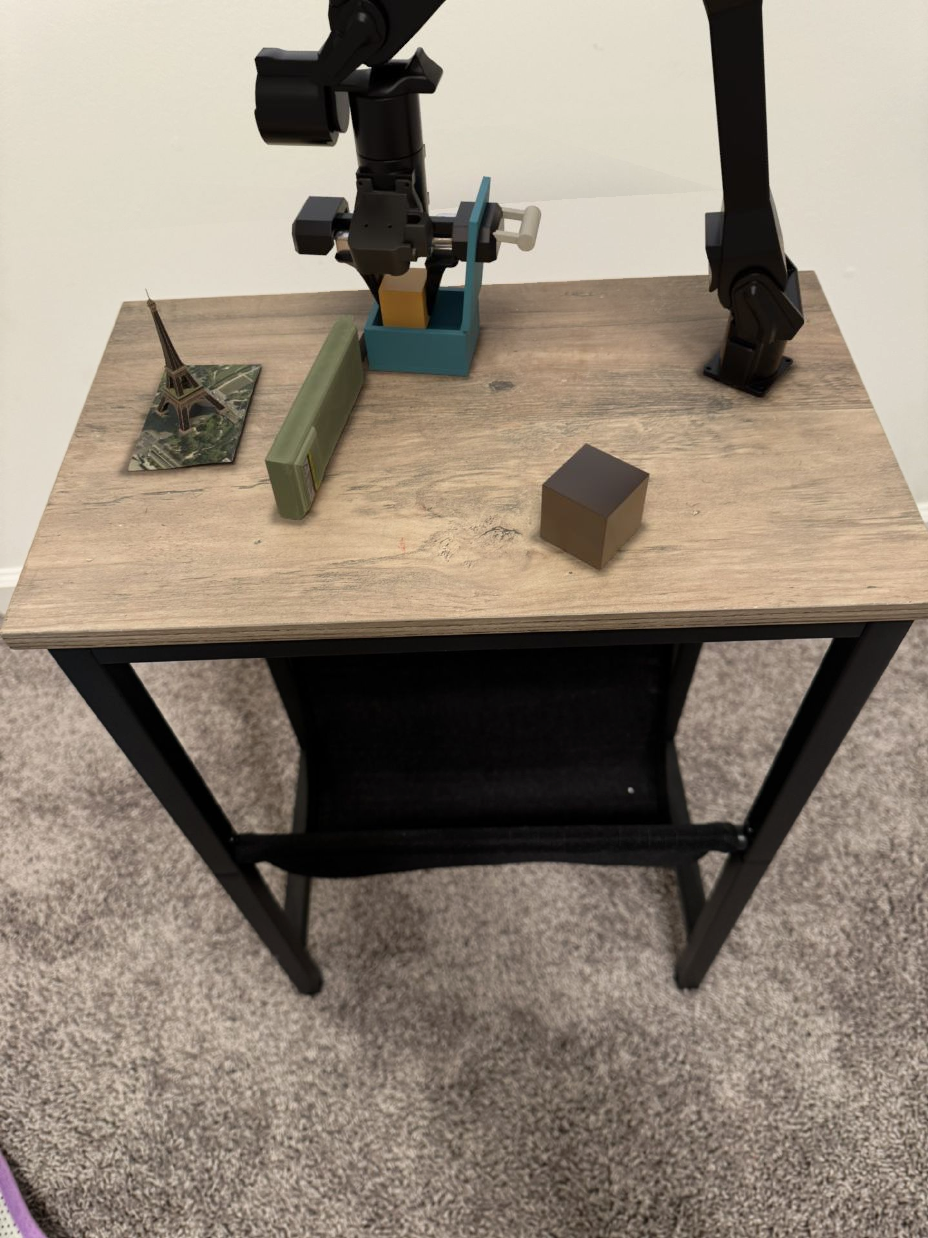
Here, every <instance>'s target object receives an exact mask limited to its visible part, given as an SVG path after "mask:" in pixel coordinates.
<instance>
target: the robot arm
mask: <svg viewBox="0 0 928 1238" xmlns="http://www.w3.org/2000/svg"><path fill="white" fill-rule="evenodd" d="M446 1H447V0H328V7H327V8H328V9H327V20H328V26H329V31H330V32H329V34H328V36H327V38H326V40H325V41H324V42H323V44H322V46H321V47H320V48H319V50H287V49H282V48H279V47H262V48H261V50H259V52H258V53H257V54H256V56H255V57H254V58H253V60H254V64H255V65H254V66H255V69H256V77H255V84H254V85H255V86H254V103H255V108H254V111H253V114H254V120H255V124H256V127H257V130H258V133H259V135H260V138H261V139H262V141H263V142H264V143H265V144H266V145H267V146H268V145H269V146H288V147H289V146H291V147H320V148H321V147H324V148H327V147H328V148H333V147H335V146H336V145H337V143H338V140H339V137H340V134H346V133H347V132H348V130H349V126H350V119H351V123H352V124H351V125H352V133H353V139H354V146H355V153H356V155H355V156H356V160H357V169H356V171H355V179H356V181H355V186H356V195H355V200H354V206H353V212H350V206H349V202H348V200H347V199H346V198H345V197H344V196H319V195H318V196H317V195H309V196H308V197H307V198H306V200H305V201H304V202H303V204H302V206H301V208H300V209H299V212H298V213H297V215H296V217H295V218H294V220H293V222H292V224H291V237H292V242H293V247H294V252H296V253H297V254H298V255H301V256H302V255H304V256H305V255H306V256H323V257H324V256H325V257H326V256H327V255H329V253H330V252H331V251H332V250H333V249H334V248H336V252H335V255H334V259H335V261H336V262H337V263H339V264H346V265H348V266H350V267H352V268H354V269H355V270H356V272H358V274H359V275H360V276H361V279H363V281H364V283H365V285H366V286H367V288H368V290H369V291H370V293H371V295H372V297H373V299H374V301H375V300H376V302H377V304H378V305H379V307H380V309H381V305H380V298H379V291H378V290H379V288H380V285H381V283H382V280H383V278H384V275H385V274H390V275H391V276H401V275H404V274H405V273H407V271H408V270H409V268H411V263H412V262H413V263H417V262H418V260H419V258H425V261H424V268H426V270H427V285H426V306H427V313H428V316H432V314H433V311H434V307H435V303H436V299H437V295H438V291H439V288H440V287H441V284H442V279H443V277H444V276H443V275H444V273H445V271H446V269H454V268H455V267H457V266H458V265H459V262H461V263H466V260H467V245H468V230H469V220H470V217H471V214H472V211H473V207H474V204H475V201H464V200H463V201H462V200H461V201H460V203H459V206H458V208H457V212H456V213H443V212H442V213H438V214H437V215H430V209H429V206H430V201H431V200H430V192H429V191H428V184H427V171H426V157H427V153H426V152H427V151H426V144H425V143H424V135H423V123H422V111H421V98H420V95H433V94H435V93H436V91H437V89H438V86H439V84H440V82H441V81H442V78H443V76H444V69H443V68H442V67H441V66H440V65H439V64H438V63H437V62H436V61H435V60H433V59H432V58H430V57H429V56H428V54H427V53H426V52H425V49H424V48H423V47H421V46H419V47H417V48H416V50H415V51H414V53H413V55H412V56H411V57H410V58H407V59H403V58H402V59H401V58H398V59H397V58H394V57H395V56H396V55H397V54H398V53H399V52H400V51H401V50H402V49H403V48H404V47H405V46H406V45H407V44H408V43H409V42H410V41H411V40H412V39H413V38H414V37H415V36H416V35H417V34H418V33H419V32H420V30H422V28H423V27H424V26H425V25H426V24H427V22H428V21H429V20H430V19H431V18H432V16H434V14H435V13H436V12H437V11H438V10H439V9H440V7H442V6H443V4H444V3H445V2H446ZM763 2H764V0H702V3H703V6H704V11H705V13H706V17H707V22H708V29H709V41H710V53H711V65H712V66H711V67H712V76H713V78H712V79H713V88H714V89H713V90H714V91H713V92H714V101H715V103H714V104H715V113H716V115H715V116H716V126H717V127H716V128H717V139H718V149H719V150H718V151H719V161H720V162H719V163H720V172H721V173H720V174H721V187H722V200H721V206H720V211H711V212H708V211H707V212H705V213H704V250H705V254H706V257H707V262H708V264H707V266H708V267H707V268H708V292H709V293H710V294H711V293H713V292H715V291H716V290H717V291H716V292H717V293H716V295H717V298H718V301H719V304H720V305H721V306H722V308H723V309H725V310H728V311H729V314H728V317H727V322H726V327H725V331H724V335H723V339H722V344H721V346H720V347H721V348H720V351H718V352H717V353H716V354H715V355H714V356H713V358H712V359H710V360H709V361H708V362H707V364H705V365H704V367H703V368H702V373H703V374H704V375H705V376H708V377H710V378H712V379H715V380H717V381H720V382H722V383H724V384H727V385H730V386H732V387H735V388H737V389H739V390H742V391H744V392H746V393H750V394H752V395H754V396H757V397H764V396H766V394H767V393H768V392H769V391H770V390H771V389H772V388H773V387H774V386H775V385H776V384H777V383H778V382H779V380H780V379H781V378H782V377H784V375H785V374H786V373H787V372H788V371H789V370H790V369H791V368H792V366H793V364H794V359H792V358H790V357H789V356H786V355H784V353H785V350H786V348H787V344H788V342H790V341H792V340H793V339H794V338H795V336H796V335H797V333H799V331H800V330H801V329H802V328H803V326H804V325H805V316H804V307H803V299H802V291H801V285H800V276H799V270H798V267H797V266H796V264H795V263H794V262H793V261H792V260H791V258H790V257H789V256H788V254H787V253H786V251H785V244H784V243H785V242H784V235H783V230H782V226H781V223H780V218H779V215H778V210H777V206H776V202H775V199H774V196H773V193H772V188H771V185H770V164H769V140H768V139H769V138H768V117H767V116H768V115H767V113H768V112H767V93H766V92H767V91H766V89H767V88H766V69H765V67H766V66H765V65H766V64H765V41H764V40H765V39H764V16H763V15H764V14H763V4H764V3H763ZM362 65H364V66H366V67H367V68H361V69H358V68H360V67H361V66H362ZM501 207H502V206H501V205H500V204H499V202H492V201H489V202H487V203H486V206H485V210H484V213H483V216H482V220H481V223H480V226H479V232H478V239H477V248H476V261H475V262H479V263H484V264H490V263H493V262H495V261H497V259H498V256H499V252H500V250H501V246H502V242H498V241H497V239H496V238H495V236H494V235H493V233H494V232H496V230H500V231H505V218H503V211H502V208H501ZM334 246H335V247H334Z"/></svg>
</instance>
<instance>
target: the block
mask: <svg viewBox="0 0 928 1238" xmlns="http://www.w3.org/2000/svg"><path fill="white" fill-rule="evenodd" d="M426 285H427V270H426V268H425V267H410V268H409V270H408V271H407V273H405V274H404V275H401V276H391V275H390V274H385V275H384V278H383V280H382V283H381V285H380V288H379V290H378V291H379V298H380V305H381V313H382V320H383V326H388V327H405V328H423V329H426V328H427V325H428V322H429V319H430V316H428V313H427V306H426Z"/></svg>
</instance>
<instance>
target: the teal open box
mask: <svg viewBox="0 0 928 1238" xmlns="http://www.w3.org/2000/svg"><path fill="white" fill-rule="evenodd" d="M464 290H465V287H458V286H440V288H439V291H438V295H437V299H436V303H435V307H434V311H433V314H432V316H430V319H429V322H428V325H427V328H426V329H423V328H405V327H388V326H383V320H382V313H381V309H380V307H379V305H378V304H377V302H376V300H375V299H374V302H373V305H372V306H371V310H370V312H369V314H368V317H367V319H366V322H365V324H364V327H363V332H364V336H365V342H366V348H367V360H368V366H369V371H377V372H378V371H381V372H395V373H396V372H397V373H409V374H410V373H411V374H425V375H442V376H457V377H468V376H469V372H470V369H471V365H472V362H473V357H474V353H475V349H476V345H477V342H478V337H479V334H480V330H481V326H480V325H481V324H480V323H481V322H480V297H478V300H477V304H476V308H475V311H474V315H473V319H472V322H471V326H470V330H469V332H468V331H462V320H463V305H464Z"/></svg>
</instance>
